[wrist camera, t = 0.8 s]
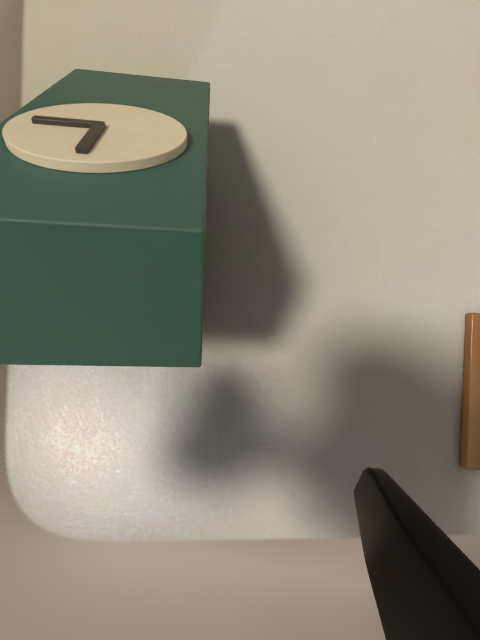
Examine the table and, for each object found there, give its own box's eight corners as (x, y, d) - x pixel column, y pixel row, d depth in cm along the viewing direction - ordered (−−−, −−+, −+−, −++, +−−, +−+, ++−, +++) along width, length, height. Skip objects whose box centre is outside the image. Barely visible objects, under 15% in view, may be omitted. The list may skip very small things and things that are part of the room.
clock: (202, 343, 21) (199, 390, 8) (91, 340, 20) (-129, 388, 7) (209, 122, 21) (218, -226, 7) (97, 112, 20) (-113, -291, 7)
